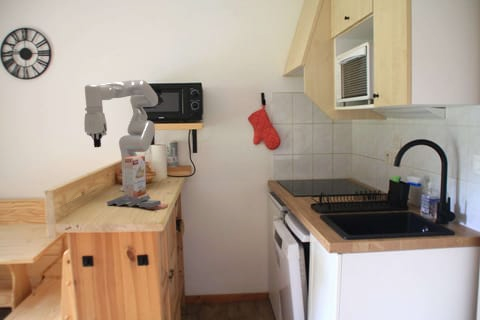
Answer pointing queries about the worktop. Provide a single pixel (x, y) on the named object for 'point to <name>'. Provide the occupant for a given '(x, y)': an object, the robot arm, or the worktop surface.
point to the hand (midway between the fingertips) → (97, 147)
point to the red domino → (158, 207)
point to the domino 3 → (139, 200)
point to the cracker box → (134, 176)
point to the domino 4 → (149, 203)
